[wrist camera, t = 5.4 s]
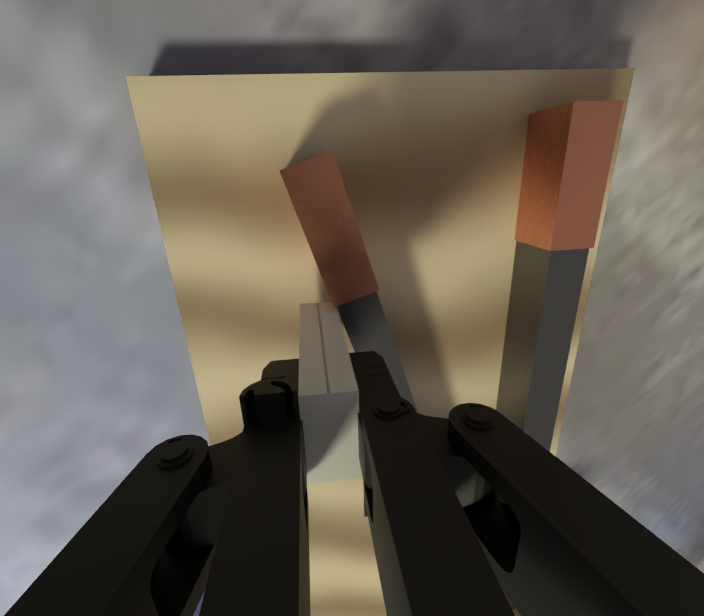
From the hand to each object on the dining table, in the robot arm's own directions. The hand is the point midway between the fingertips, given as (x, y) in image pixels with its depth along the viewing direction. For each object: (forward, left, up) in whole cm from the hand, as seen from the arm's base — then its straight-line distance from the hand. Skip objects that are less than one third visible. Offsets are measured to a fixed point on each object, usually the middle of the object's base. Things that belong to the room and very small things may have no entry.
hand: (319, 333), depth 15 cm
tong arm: (+4, +3, -1) cm, 6 cm away
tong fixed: (+6, +9, -1) cm, 11 cm away
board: (+7, +4, -3) cm, 8 cm away
